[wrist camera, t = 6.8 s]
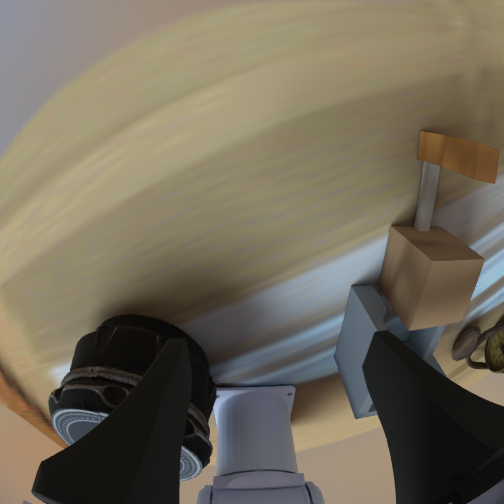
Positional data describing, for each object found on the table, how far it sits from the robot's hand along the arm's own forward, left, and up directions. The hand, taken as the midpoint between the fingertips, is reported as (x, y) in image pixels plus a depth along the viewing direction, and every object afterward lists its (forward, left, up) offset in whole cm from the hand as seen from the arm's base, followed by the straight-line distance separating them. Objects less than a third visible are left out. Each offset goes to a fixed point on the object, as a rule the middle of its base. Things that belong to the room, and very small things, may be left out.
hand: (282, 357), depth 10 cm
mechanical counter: (-11, -28, -10) cm, 32 cm away
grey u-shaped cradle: (-7, -12, -10) cm, 17 cm away
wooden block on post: (+3, -11, -10) cm, 15 cm away
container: (-11, +10, -10) cm, 18 cm away
